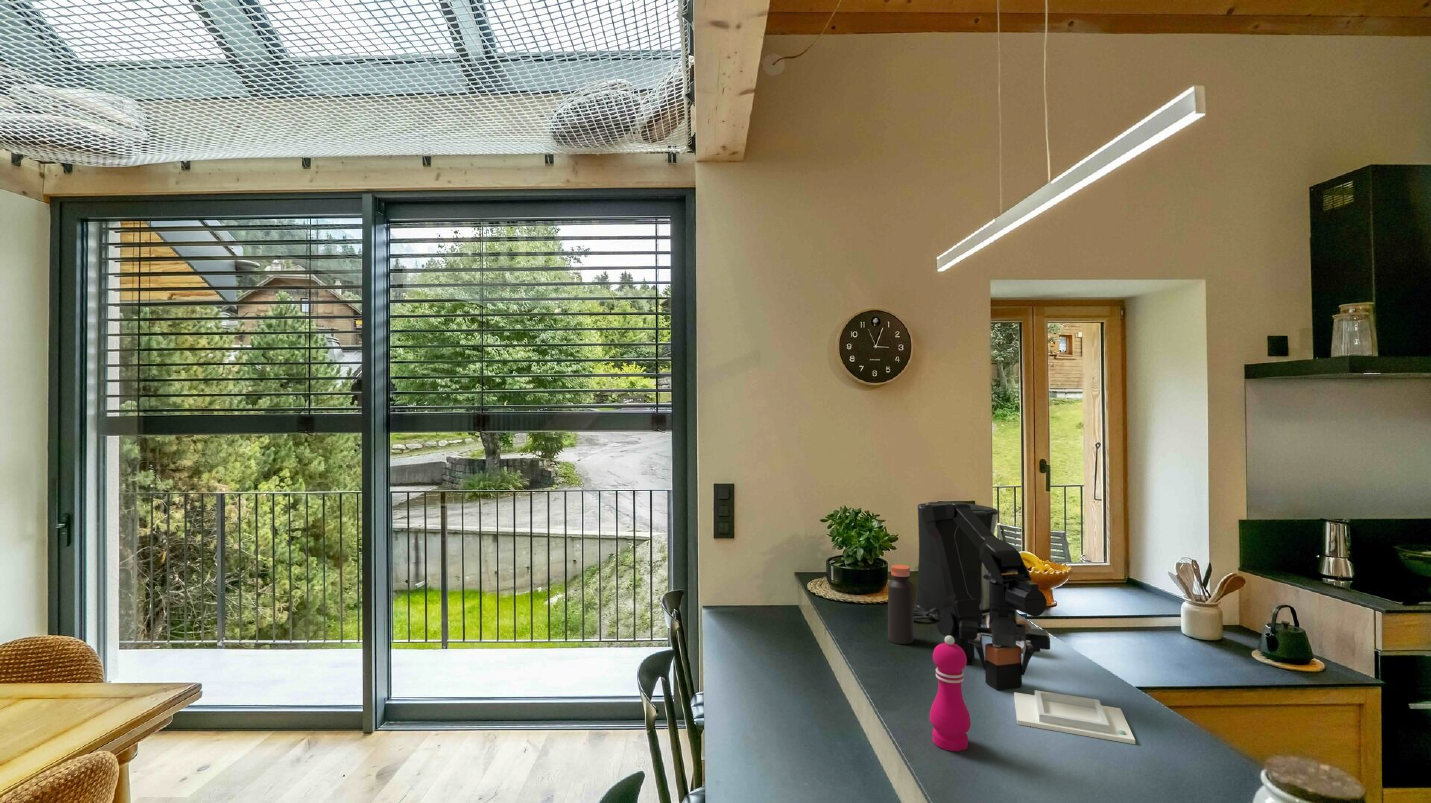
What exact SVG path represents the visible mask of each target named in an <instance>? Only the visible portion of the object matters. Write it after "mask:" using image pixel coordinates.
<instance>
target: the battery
mask: <svg viewBox="0 0 1431 803" xmlns="http://www.w3.org/2000/svg"><path fill="white" fill-rule="evenodd" d="M984 655H985V670H984V671H985V672H984V673H985V678H984V679H985V680H984V681H985V684H987V685H988V686H989V687H992V688H994V689H995V690H997V691H1002V690H1010V689H1018V688H1021V687H1022V686H1023V684H1022V683H1023V678H1022V677H1023V675H1022V657H1023V652H1022V648H1021V647H1020V646H1018V645H1016V646H1015V647H1009V646H1003V645H999V646H997V645H994V644H993V643H992V642H990V643H989V642H988V643H985V645H984Z"/></svg>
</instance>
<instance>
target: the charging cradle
mask: <svg viewBox="0 0 1431 803" xmlns="http://www.w3.org/2000/svg"><path fill="white" fill-rule="evenodd" d="M1013 698H1014V706H1015V716H1016V723H1017V725H1019V726H1025V727H1030V726H1031V727H1030V728H1035V729H1037V728H1038V729H1042V730H1047V731H1048V730H1049V731H1055V732H1061V733H1065V734H1066V733H1067V734H1072V735H1076V736H1077V735H1079V736H1084V737H1091V738H1095V739H1102V740H1109V741H1113V742H1120V743H1125V744H1130V745H1136V739H1135V737H1134V735H1133V733H1132V731H1131V728H1130V726H1129V724H1128V722H1127V720H1126V717H1125V715H1124V713H1123V711H1122V708H1119V707H1113V706H1107V705H1102V703H1101V701H1100V699H1098V698H1097V699H1096V698H1089V697H1082V696H1077V695H1070V694H1069V695H1068V694H1065V693H1064V694H1063V693H1056V692H1055V693H1054V692H1049V691H1042V690H1035V689H1034V694H1027V693H1022V692H1013Z"/></svg>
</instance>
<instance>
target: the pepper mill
mask: <svg viewBox="0 0 1431 803" xmlns="http://www.w3.org/2000/svg"><path fill="white" fill-rule="evenodd" d="M954 642H955V641H954V638H953V637H952V636H946V637H945V636H944V642H942V643H940V644H937V645H936V646H935V647H934V649H933V651H932V652H933V653H932V661H933V663H934V665H935V666H936V668H935V677H936V678H937V684H938V687H937V691H936V692H937V693H936V695H935V698H934V699H933V702H932V705H931V707H930V710H929V722H930V724H931V726H932V727H933V730H932V731H931V732H932V742H933V744H934V745H935V746H937V748H940V749H942V750H945V751H948V750H951V751H950V752H962V751H961V750H963V751H965V750H966V749H968V747H969V738H968V737H969V736H968V734H967V732H968V731H969V730H970V728H971V726H972V725H971V724H972V723H971V717H970V716H971V715H970V713H969V710H968V707H967V705H966V703H965V701H964V698H963V694H962V693H963V692H962V683H963V682H964V679H965V678H964V675H965V673H964V669H965V668H966V666H967V665H968V664H967V658H966V654H965V652H964V651H963V649H962V648H961V647H959V646H958V645H956V644H954Z"/></svg>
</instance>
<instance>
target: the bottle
mask: <svg viewBox="0 0 1431 803" xmlns="http://www.w3.org/2000/svg"><path fill="white" fill-rule="evenodd" d="M890 568H891V570H890V571H891V572H890V573H891V574H890V575H891V577H892V580H890V581H889V582H888V584H887V639H888V641H889V642H890V643H893V644H897V645H911V644H912V643H914V641H915V639H914V638H915V637H914V636H915V628H914V627H915V625H914V622H915V619H914V616H915V615H914V612H915V610H914V608H915V606H914V602H915V599H914V597H915V596H914V595H915V594H914V593H915V592H914V590H915V589H914V585H913V584H912V582H911V581H910V578H911V568H910V566H908V565H905V564H893V565H891V567H890Z"/></svg>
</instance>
